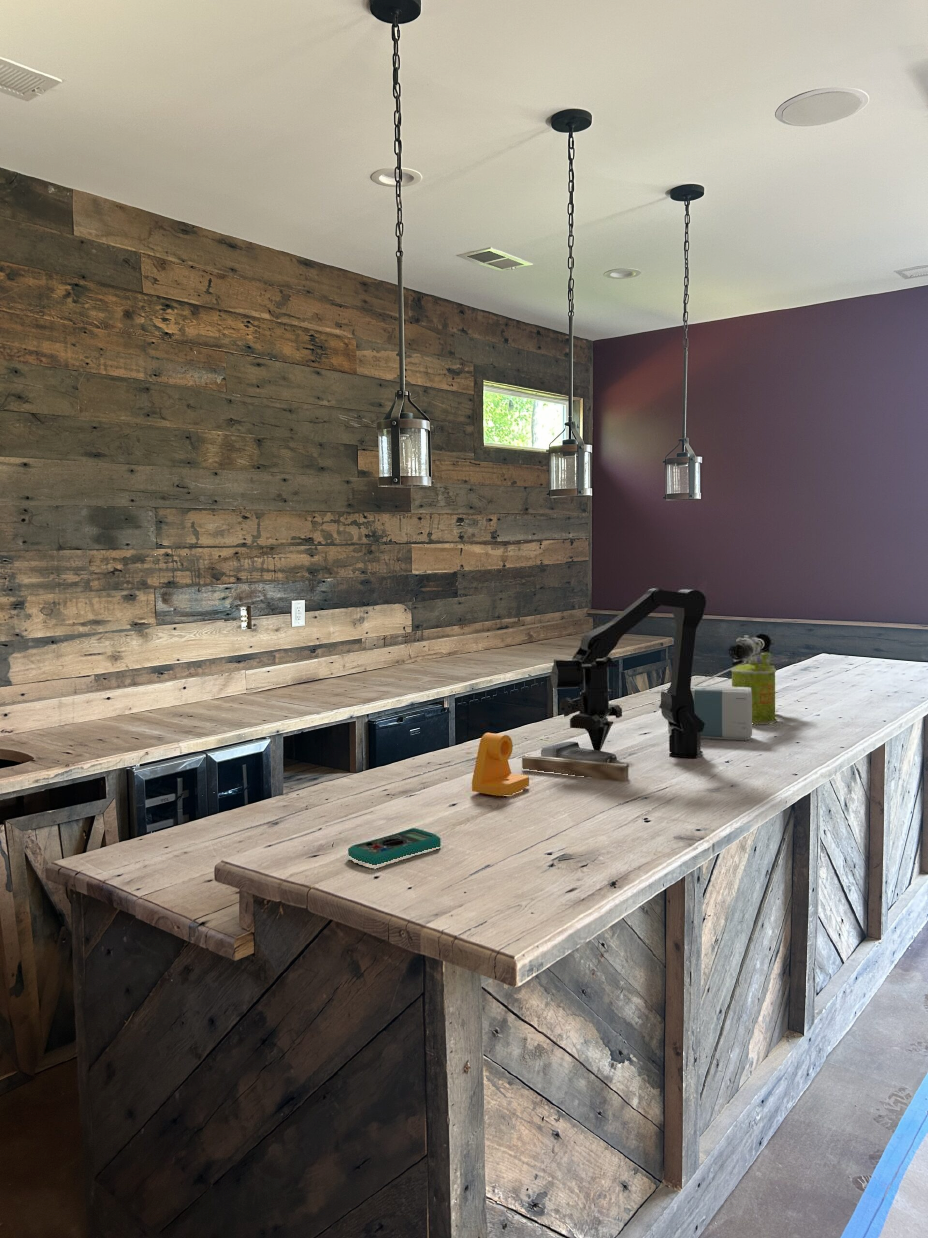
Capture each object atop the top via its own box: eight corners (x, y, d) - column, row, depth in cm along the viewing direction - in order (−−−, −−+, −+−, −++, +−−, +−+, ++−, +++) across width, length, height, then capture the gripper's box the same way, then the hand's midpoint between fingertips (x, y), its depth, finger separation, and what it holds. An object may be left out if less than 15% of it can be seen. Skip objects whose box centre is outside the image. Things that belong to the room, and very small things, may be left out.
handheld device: (610, 777, 199) (610, 756, 199) (536, 765, 212) (536, 746, 212) (633, 769, 206) (632, 748, 206) (560, 758, 220) (560, 739, 219)
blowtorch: (790, 713, 270) (790, 629, 268) (761, 732, 242) (761, 639, 240) (745, 710, 277) (745, 628, 275) (712, 728, 249) (712, 637, 247)
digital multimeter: (344, 863, 148) (344, 845, 147) (415, 841, 158) (414, 825, 157) (371, 874, 142) (371, 855, 142) (443, 851, 152) (442, 834, 152)
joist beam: (628, 778, 196) (628, 763, 196) (623, 781, 194) (623, 766, 194) (528, 768, 208) (527, 754, 208) (522, 770, 206) (522, 756, 205)
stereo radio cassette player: (667, 738, 238) (666, 662, 236) (672, 732, 245) (672, 659, 244) (751, 743, 230) (750, 664, 228) (753, 736, 237) (753, 660, 236)
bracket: (500, 800, 182) (499, 741, 181) (472, 795, 186) (470, 737, 185) (531, 789, 190) (530, 732, 189) (503, 784, 195) (502, 728, 194)
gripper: (579, 679, 224) (580, 742, 225) (548, 690, 208) (549, 757, 209) (622, 682, 219) (623, 746, 220) (593, 693, 203) (595, 762, 204)
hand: (597, 752), depth 213 cm, fingers closed
